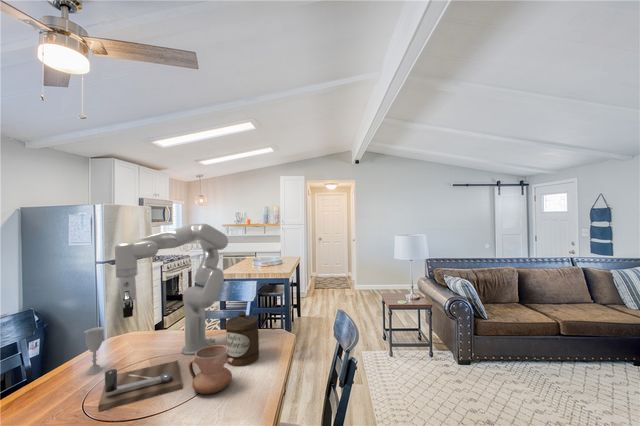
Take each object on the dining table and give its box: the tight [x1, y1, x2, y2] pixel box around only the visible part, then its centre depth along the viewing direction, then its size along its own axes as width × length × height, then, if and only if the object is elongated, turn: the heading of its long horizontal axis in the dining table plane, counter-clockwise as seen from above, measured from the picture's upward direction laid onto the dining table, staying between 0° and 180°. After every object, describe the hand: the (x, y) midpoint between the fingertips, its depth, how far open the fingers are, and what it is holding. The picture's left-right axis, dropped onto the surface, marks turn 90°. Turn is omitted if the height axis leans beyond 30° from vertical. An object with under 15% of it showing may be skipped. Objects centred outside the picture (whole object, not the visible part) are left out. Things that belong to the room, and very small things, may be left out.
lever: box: [104, 368, 173, 396], centre depth 111 cm, size 22×4×8 cm, turn 119°
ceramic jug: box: [188, 344, 233, 395], centre depth 114 cm, size 18×14×14 cm
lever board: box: [97, 359, 183, 412], centre depth 116 cm, size 26×22×2 cm
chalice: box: [83, 326, 105, 376], centre depth 128 cm, size 7×7×18 cm
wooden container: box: [225, 310, 260, 367], centre depth 137 cm, size 15×15×22 cm
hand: (128, 313), depth 121 cm, fingers open, 9 cm apart
